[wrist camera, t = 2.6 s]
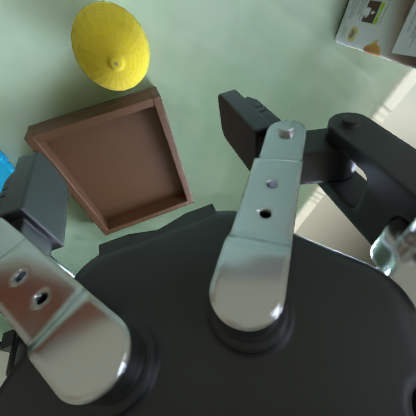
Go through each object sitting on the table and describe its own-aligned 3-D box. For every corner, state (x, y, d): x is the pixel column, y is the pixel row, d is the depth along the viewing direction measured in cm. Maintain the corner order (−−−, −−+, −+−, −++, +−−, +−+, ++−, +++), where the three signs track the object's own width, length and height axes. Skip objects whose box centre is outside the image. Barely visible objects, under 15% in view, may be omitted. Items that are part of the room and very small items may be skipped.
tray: (104, 222, 36) (105, 235, 34) (28, 126, 24) (23, 139, 22) (188, 191, 37) (193, 202, 35) (155, 86, 25) (160, 95, 24)
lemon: (62, 43, 21) (53, 72, 15) (92, -24, 19) (94, -17, 13) (122, 84, 24) (132, 119, 19) (153, 32, 22) (174, 55, 17)
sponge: (24, 152, 25) (-58, 150, 22) (40, 232, 32) (-19, 239, 29) (24, 144, 25) (-54, 142, 22) (40, 224, 33) (-18, 230, 30)
